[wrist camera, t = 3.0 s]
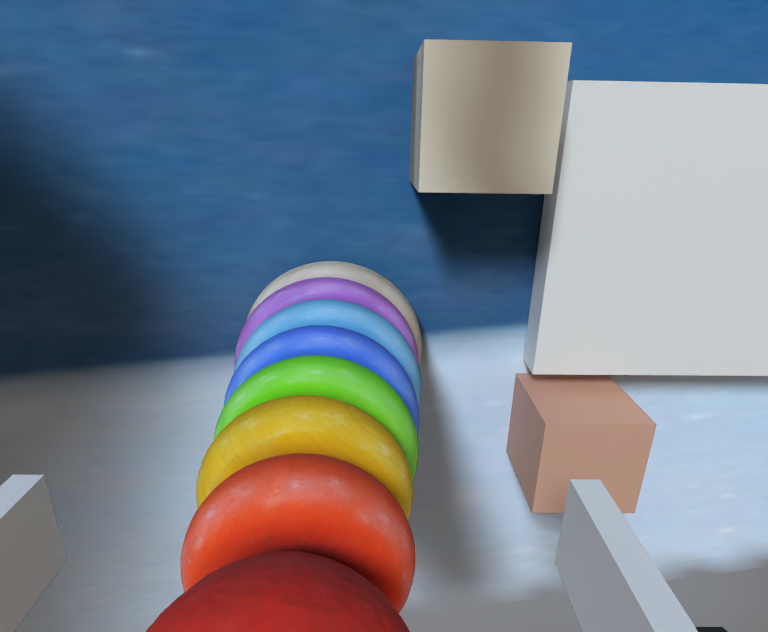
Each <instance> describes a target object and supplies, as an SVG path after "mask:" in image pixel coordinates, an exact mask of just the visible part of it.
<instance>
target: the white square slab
mask: <svg viewBox="0 0 768 632" xmlns="http://www.w3.org/2000/svg"><path fill="white" fill-rule="evenodd" d="M523 360H524V362H525V363H526V365H527V366H528V368H529V370H530V371H531V373H532V374H551V375H705V376H768V84H729V83H679V82H629V81H580V80H573V81H569V82H567V86H566V93H565V101H564V108H563V116H562V123H561V131H560V138H559V146H558V153H557V161H556V169H555V176H554V184H553V191H552V194H545V195H544V202H543V210H542V218H541V226H540V233H539V241H538V249H537V257H536V264H535V272H534V280H533V288H532V296H531V303H530V311H529V319H528V327H527V334H526V342H525V350H524V358H523Z"/></svg>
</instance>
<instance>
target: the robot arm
mask: <svg viewBox="0 0 768 632" xmlns="http://www.w3.org/2000/svg"><path fill="white" fill-rule="evenodd" d="M66 561H67V558H66V555H65V551H64V547H63V543H62V540H61V536H60V532H59V529H58V525H57V521H56V518H55V514H54V510H53V506H52V503H51V499H50V495H49V492H48V488H47V484H46V481H45V477H44V475H12V476H11V477H10V478H9V479H7V480H6V481H5V482H4V483H3V484H2V485H1V486H0V632H14V631H15V630H16V628H17V627H18V626H19V624H20V623H21V621H22V620H23V619H24V617H25V616H26V615H27V613H28V612H29V611H30V609H31V608H32V607H33V605H34V604H35V603H36V601H37V600H38V598H39V597H40V596H41V594H42V593H43V592H44V590H45V589H46V588H47V586H48V585H49V584H50V582H51V581H52V580H53V578H54V577H55V576H56V574H57V573H58V571H59V570H60V569H61V567H62V566H63V565H64V563H65V562H66ZM555 564H556V567H557V569H558V572H559V574H560V577H561V579H562V581H563V584H564V586H565V589H566V591H567V594H568V596H569V598H570V601H571V603H572V606H573V608H574V611H575V613H576V615H577V618H578V620H579V622H580V625H581V628H582V630H583V632H727V631H726V630H725V629H724V628H723V627H695V626H694V625H693V623H692V622H691V620H690V618H689V617H688V615H687V614H686V612H685V611H684V609H683V608H682V606H681V604H680V603H679V601H678V600H677V598H676V597H675V595H674V594H673V592H672V590H671V589H670V587H669V586H668V584H667V583H666V581H665V580H664V578H663V576H662V575H661V573H660V572H659V570H658V569H657V567H656V566H655V564H654V562H653V561H652V559H651V558H650V556H649V555H648V553H647V552H646V550H645V548H644V547H643V545H642V544H641V542H640V541H639V539H638V538H637V536H636V534H635V533H634V531H633V530H632V528H631V527H630V525H629V524H628V522H627V520H626V519H625V517H624V516H623V514H622V513H621V511H620V510H619V508H618V506H617V505H616V503H615V502H614V500H613V499H612V497H611V496H610V494H609V492H608V491H607V489H606V488H605V486H604V485H603V483H602V482H601V480H595V479H570V482H569V487H568V493H567V499H566V504H565V510H564V515H563V521H562V527H561V532H560V538H559V543H558V549H557V554H556V560H555Z"/></svg>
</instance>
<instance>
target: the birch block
mask: <svg viewBox="0 0 768 632" xmlns="http://www.w3.org/2000/svg"><path fill="white" fill-rule="evenodd" d="M571 48H572V43H571V42H522V41H473V40H424V41H423V43H422V45H421V47H420V49H419V51H418V53H417V54H416V56H415V58H414V60H413V90H412V121H411V152H410V182H411V183H412V184H413V186H414V187H415V188H416V190H417V191H418V192H429V193H504V194H552V191H553V184H554V176H555V169H556V161H557V153H558V146H559V138H560V131H561V123H562V116H563V108H564V101H565V93H566V86H567V78H568V71H569V63H570V55H571Z"/></svg>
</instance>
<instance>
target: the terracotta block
mask: <svg viewBox="0 0 768 632" xmlns="http://www.w3.org/2000/svg"><path fill="white" fill-rule="evenodd" d="M655 428H656V424H655V423H654V422H653V421H652V419H651V418H650V417H649V416H648V415H647V414H646V413H645V412H644V411H643V410H642V409H641V408H640V407H639V406H638V405H637V404H636V403H635V402H634V401H633V400H632V399H631V398H630V397H629V396H628V395H627V394H626V393H625V392H624V390H623V389H622V388H621V387H620V386H619V385H618V384H617V383H616V382H615V381H614V380H613V379H612V378H611V377H610V376H609V375H551V374H532V373H516V378H515V386H514V394H513V402H512V410H511V418H510V426H509V434H508V442H507V450H506V451H507V454H508V456H509V459H510V461H511V463H512V466H513V468H514V471H515V473H516V476H517V478H518V480H519V483H520V485H521V488H522V490H523V493H524V495H525V497H526V500H527V502H528V505H529V507H530V509H531V512H532V513H564V510H565V504H566V499H567V493H568V487H569V482H570V479H595V480H601V482H602V483H603V485H604V486H605V488H606V489H607V491H608V492H609V494H610V496H611V497H612V499H613V500H614V502H615V503H616V505H617V506H618V508H619V510H620V511H621V513H635V509H636V505H637V501H638V497H639V493H640V489H641V485H642V481H643V477H644V473H645V469H646V465H647V461H648V457H649V453H650V449H651V445H652V441H653V437H654V433H655Z"/></svg>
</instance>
